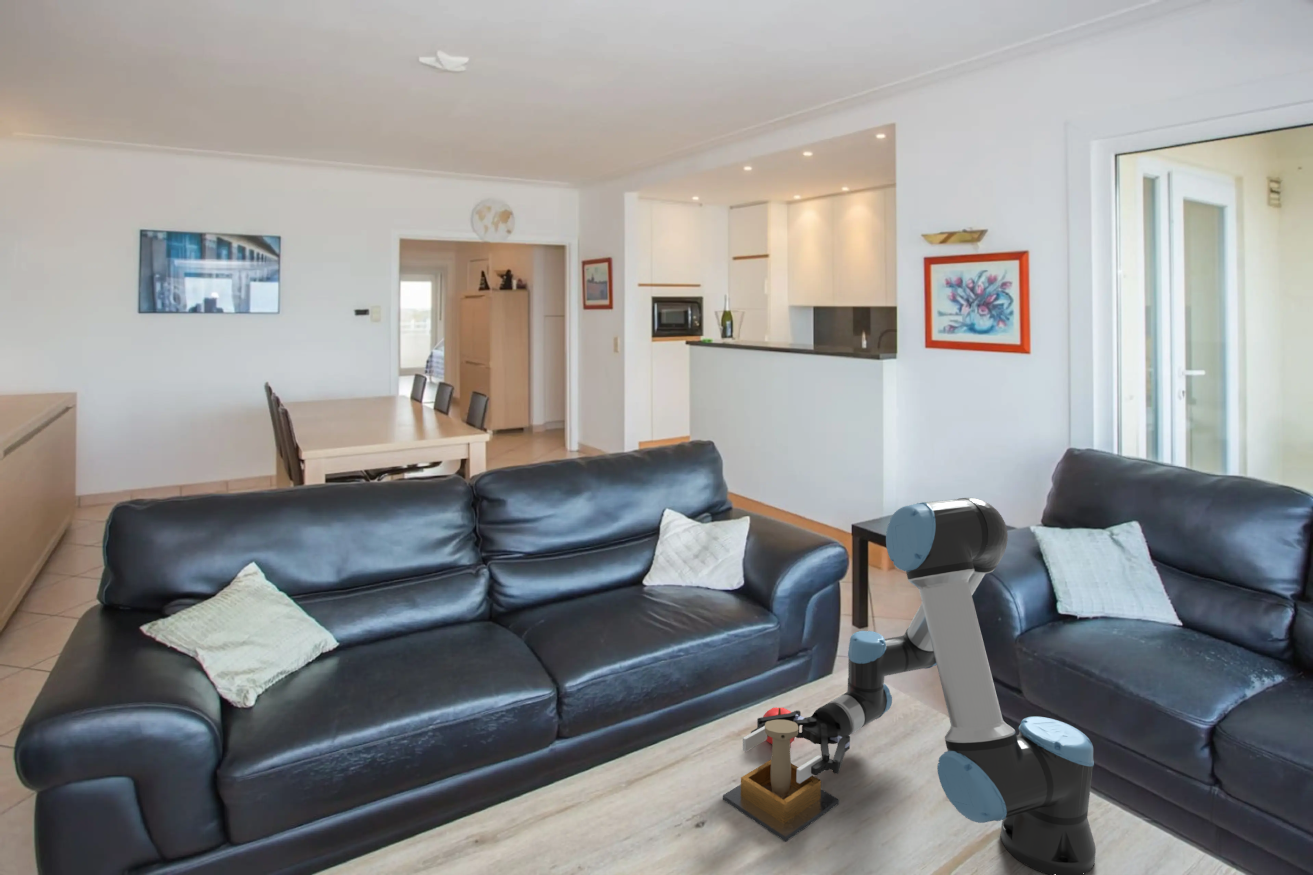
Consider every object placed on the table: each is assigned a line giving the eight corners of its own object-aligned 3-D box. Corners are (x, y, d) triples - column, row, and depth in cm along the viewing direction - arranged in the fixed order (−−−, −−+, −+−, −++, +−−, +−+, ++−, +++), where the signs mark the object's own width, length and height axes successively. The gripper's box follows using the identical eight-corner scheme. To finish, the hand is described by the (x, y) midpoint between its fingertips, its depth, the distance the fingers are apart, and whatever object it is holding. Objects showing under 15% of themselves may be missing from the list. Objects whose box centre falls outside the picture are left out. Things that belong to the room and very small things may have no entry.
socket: (838, 803, 152) (839, 780, 151) (785, 841, 142) (785, 817, 141) (776, 767, 164) (776, 745, 163) (722, 799, 153) (722, 776, 153)
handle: (798, 804, 150) (800, 733, 148) (765, 804, 150) (766, 732, 148) (795, 789, 155) (796, 719, 152) (762, 788, 155) (763, 719, 153)
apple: (801, 735, 175) (801, 703, 174) (791, 754, 168) (792, 721, 167) (767, 727, 178) (767, 696, 177) (756, 746, 171) (756, 713, 170)
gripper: (888, 762, 154) (822, 809, 140) (790, 712, 172) (723, 749, 159) (890, 727, 152) (823, 771, 139) (791, 681, 171) (723, 716, 157)
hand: (769, 760), depth 149 cm, fingers open, 13 cm apart
